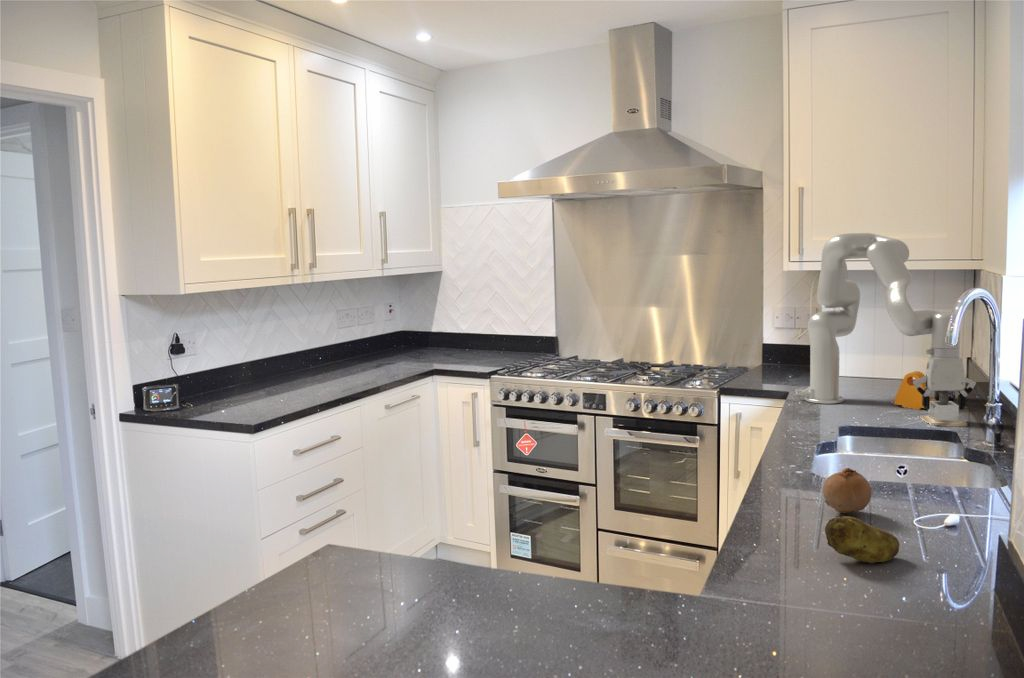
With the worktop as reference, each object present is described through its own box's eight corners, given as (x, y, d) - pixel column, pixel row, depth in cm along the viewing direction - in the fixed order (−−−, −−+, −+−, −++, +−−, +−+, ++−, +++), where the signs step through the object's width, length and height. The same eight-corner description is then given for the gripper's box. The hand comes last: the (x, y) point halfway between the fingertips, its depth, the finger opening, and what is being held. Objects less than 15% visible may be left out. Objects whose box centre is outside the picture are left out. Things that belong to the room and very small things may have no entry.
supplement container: (933, 400, 274) (933, 371, 273) (934, 397, 280) (935, 368, 278) (955, 402, 271) (956, 372, 269) (956, 398, 276) (957, 369, 275)
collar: (935, 421, 240) (935, 405, 240) (927, 416, 247) (928, 401, 246) (958, 421, 239) (958, 405, 239) (950, 416, 246) (951, 401, 245)
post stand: (930, 426, 239) (932, 390, 238) (920, 418, 249) (921, 384, 248) (967, 426, 237) (968, 390, 236) (954, 418, 247) (955, 384, 246)
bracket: (936, 407, 264) (937, 371, 263) (928, 411, 259) (929, 374, 258) (903, 403, 272) (904, 368, 271) (894, 406, 267) (895, 371, 266)
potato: (905, 572, 138) (906, 527, 137) (826, 566, 142) (827, 523, 141) (896, 553, 146) (897, 511, 145) (821, 549, 149) (822, 508, 149)
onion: (868, 524, 161) (869, 476, 160) (819, 517, 166) (820, 471, 165) (873, 509, 169) (874, 464, 168) (826, 504, 174) (826, 459, 173)
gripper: (918, 355, 238) (917, 411, 240) (981, 354, 235) (979, 411, 237) (910, 351, 246) (909, 406, 248) (971, 351, 243) (969, 406, 245)
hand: (943, 408), depth 243 cm, fingers open, 9 cm apart
